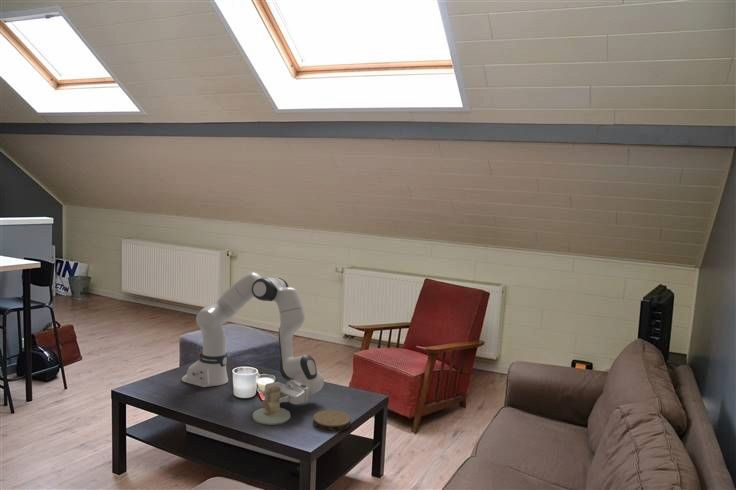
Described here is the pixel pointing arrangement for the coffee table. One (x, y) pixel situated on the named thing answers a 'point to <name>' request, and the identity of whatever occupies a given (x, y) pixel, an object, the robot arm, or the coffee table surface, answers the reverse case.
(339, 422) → the brown round disc
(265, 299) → the robot arm
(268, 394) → the birch block
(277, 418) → the dish
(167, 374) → the coffee table surface
